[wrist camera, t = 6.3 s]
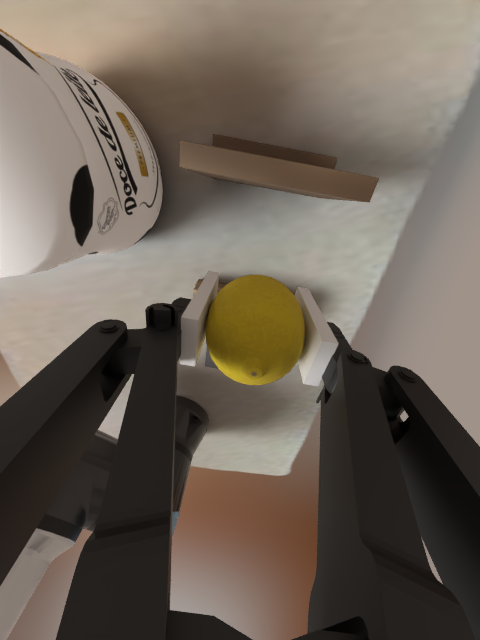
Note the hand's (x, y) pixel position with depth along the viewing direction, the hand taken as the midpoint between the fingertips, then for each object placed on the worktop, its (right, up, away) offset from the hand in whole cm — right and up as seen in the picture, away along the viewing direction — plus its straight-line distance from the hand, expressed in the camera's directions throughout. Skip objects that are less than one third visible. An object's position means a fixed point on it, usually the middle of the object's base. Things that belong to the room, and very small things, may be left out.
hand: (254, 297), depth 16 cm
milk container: (-19, +17, +13) cm, 28 cm away
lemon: (0, 0, +1) cm, 1 cm away
